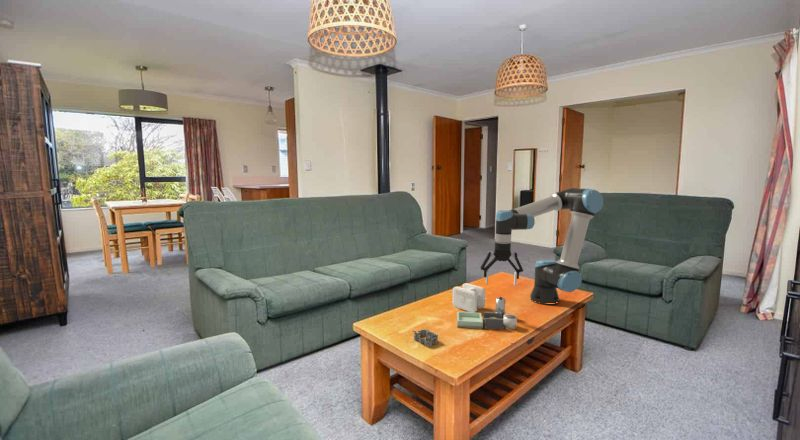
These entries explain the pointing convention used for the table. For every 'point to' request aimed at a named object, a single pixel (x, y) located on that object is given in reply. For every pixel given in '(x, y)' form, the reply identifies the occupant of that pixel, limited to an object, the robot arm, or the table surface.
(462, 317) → the tray
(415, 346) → the table surface
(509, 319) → the cup
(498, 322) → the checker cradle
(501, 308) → the steel cell
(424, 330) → the dark grey lumpy ring
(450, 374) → the table surface
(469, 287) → the cable organizer
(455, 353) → the table surface
